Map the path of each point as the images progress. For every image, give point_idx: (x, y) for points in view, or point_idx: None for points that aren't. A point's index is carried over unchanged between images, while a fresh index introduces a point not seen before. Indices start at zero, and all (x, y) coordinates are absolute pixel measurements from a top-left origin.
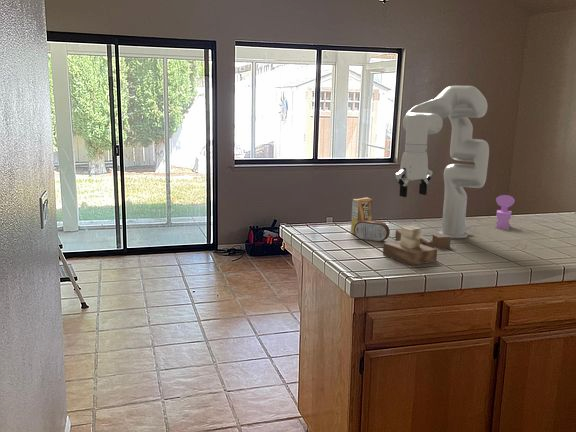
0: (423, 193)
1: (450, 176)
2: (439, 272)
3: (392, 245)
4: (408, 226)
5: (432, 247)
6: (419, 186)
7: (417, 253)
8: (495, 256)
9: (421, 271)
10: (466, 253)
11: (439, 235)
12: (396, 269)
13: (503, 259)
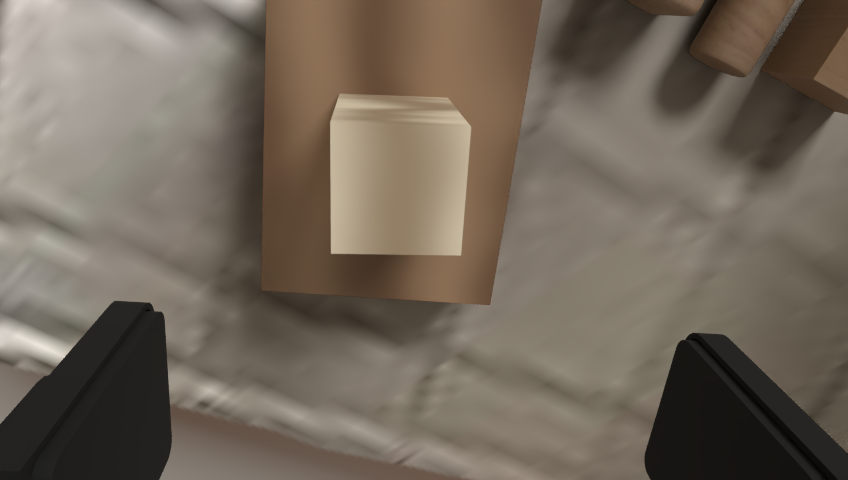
0: (660, 449)
1: None
2: (312, 409)
3: (280, 57)
4: (424, 136)
5: (714, 68)
6: (773, 432)
7: (306, 290)
8: (817, 376)
9: (237, 355)
10: (764, 261)
11: None
12: (125, 263)
13: None
